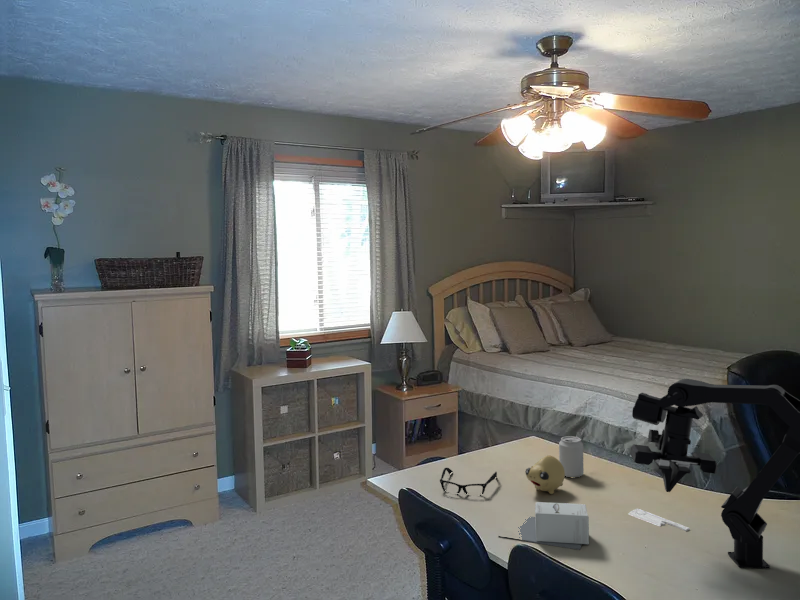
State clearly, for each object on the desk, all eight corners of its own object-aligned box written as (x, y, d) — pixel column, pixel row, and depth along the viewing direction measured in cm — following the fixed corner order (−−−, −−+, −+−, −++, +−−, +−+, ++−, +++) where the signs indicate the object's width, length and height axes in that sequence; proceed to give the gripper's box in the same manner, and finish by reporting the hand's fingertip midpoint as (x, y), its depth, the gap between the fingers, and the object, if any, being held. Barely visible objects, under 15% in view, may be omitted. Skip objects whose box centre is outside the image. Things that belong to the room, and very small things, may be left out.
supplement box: (588, 515, 145) (535, 513, 147) (589, 545, 145) (536, 542, 148) (585, 503, 152) (534, 500, 154) (586, 531, 152) (535, 528, 155)
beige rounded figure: (519, 492, 180) (519, 457, 179) (543, 481, 188) (543, 448, 187) (547, 501, 172) (546, 465, 172) (571, 490, 180) (570, 455, 179)
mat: (586, 525, 157) (586, 524, 156) (580, 549, 144) (580, 548, 144) (510, 514, 164) (510, 513, 164) (498, 537, 152) (498, 535, 152)
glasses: (435, 497, 181) (434, 481, 181) (449, 474, 198) (448, 459, 198) (489, 502, 176) (489, 486, 176) (499, 478, 193) (499, 463, 192)
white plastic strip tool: (677, 536, 150) (677, 532, 150) (626, 516, 162) (626, 512, 162) (689, 530, 152) (689, 526, 152) (638, 511, 165) (638, 507, 165)
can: (554, 473, 195) (554, 437, 194) (572, 469, 198) (572, 433, 197) (570, 480, 188) (569, 443, 187) (588, 476, 191) (588, 439, 190)
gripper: (706, 424, 151) (696, 481, 153) (629, 414, 153) (621, 471, 156) (723, 440, 140) (712, 502, 142) (640, 430, 142) (630, 491, 145)
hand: (667, 491), depth 147 cm, fingers closed
